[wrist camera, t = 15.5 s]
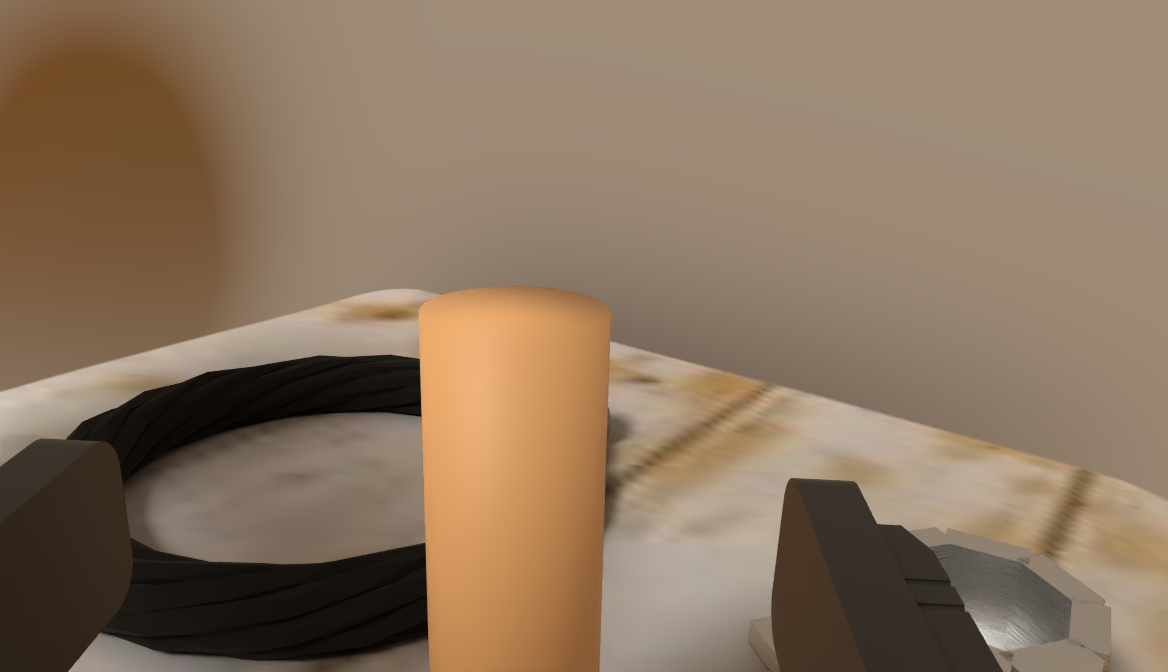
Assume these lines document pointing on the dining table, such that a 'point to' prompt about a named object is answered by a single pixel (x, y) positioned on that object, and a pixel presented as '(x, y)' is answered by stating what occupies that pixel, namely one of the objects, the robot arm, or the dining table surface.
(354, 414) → the dining table surface
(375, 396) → the cable lock
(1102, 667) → the collar stand
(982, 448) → the dining table surface
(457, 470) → the tube
